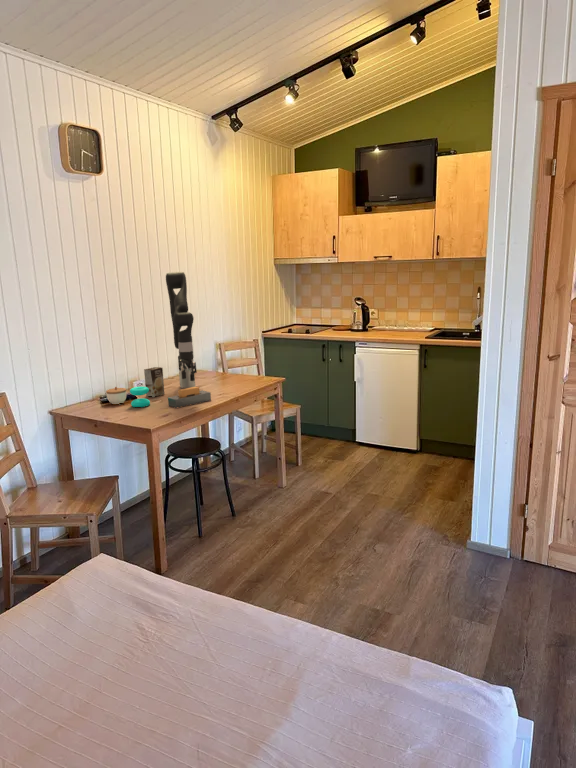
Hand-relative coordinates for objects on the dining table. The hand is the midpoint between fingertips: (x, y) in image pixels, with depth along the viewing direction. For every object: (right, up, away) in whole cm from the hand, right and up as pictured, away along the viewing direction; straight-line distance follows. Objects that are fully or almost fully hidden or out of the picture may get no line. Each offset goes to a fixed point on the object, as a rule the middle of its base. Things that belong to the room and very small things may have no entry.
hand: (188, 379), depth 292 cm
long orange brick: (0, -12, +2) cm, 12 cm away
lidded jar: (-41, -13, +9) cm, 44 cm away
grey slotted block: (0, -13, +2) cm, 13 cm away
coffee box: (-24, -9, +25) cm, 36 cm away
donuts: (-26, -14, +1) cm, 30 cm away
